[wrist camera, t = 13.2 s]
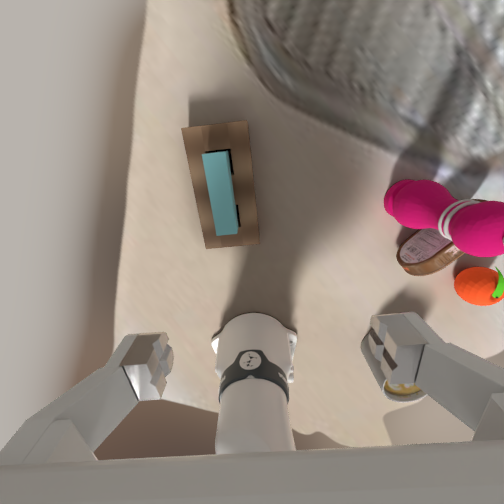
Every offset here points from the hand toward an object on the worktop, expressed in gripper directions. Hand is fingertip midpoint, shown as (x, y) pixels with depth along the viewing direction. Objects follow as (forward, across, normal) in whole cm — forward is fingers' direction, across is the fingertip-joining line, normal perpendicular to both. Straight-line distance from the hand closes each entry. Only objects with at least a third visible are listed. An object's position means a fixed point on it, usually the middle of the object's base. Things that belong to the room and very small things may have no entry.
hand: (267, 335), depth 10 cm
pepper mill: (+33, +24, -4) cm, 41 cm away
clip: (+33, -5, +1) cm, 33 cm away
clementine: (+33, +38, -20) cm, 54 cm away
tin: (+33, +29, -10) cm, 45 cm away
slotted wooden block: (+33, -5, +1) cm, 33 cm away
